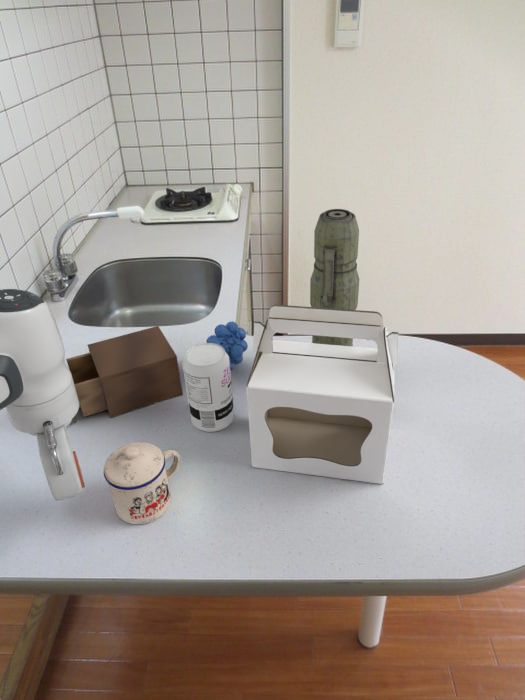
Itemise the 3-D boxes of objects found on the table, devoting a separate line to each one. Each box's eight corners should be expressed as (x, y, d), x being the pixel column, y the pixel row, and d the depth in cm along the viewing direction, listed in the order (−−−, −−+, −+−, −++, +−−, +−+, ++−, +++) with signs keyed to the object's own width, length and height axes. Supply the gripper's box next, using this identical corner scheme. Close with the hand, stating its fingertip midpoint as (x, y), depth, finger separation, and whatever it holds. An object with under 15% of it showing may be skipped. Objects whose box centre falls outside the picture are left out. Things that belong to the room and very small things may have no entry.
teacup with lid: (133, 537, 78) (118, 484, 71) (104, 502, 84) (88, 449, 77) (198, 493, 84) (190, 441, 78) (167, 463, 90) (157, 412, 84)
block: (57, 496, 77) (50, 477, 74) (53, 478, 80) (47, 459, 77) (85, 487, 78) (79, 468, 76) (80, 469, 81) (74, 450, 79)
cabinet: (110, 418, 101) (100, 378, 95) (97, 382, 110) (87, 344, 105) (183, 394, 106) (176, 355, 100) (164, 362, 115) (158, 325, 110)
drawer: (43, 433, 96) (31, 400, 92) (37, 398, 105) (25, 366, 101) (141, 402, 103) (134, 370, 98) (127, 371, 111) (120, 341, 107)
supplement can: (187, 410, 101) (177, 346, 93) (228, 401, 103) (222, 337, 95) (195, 438, 95) (185, 372, 86) (239, 428, 97) (234, 361, 88)
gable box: (250, 467, 89) (239, 326, 73) (266, 416, 99) (259, 283, 83) (384, 485, 84) (404, 339, 68) (386, 429, 95) (403, 292, 79)
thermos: (355, 364, 112) (366, 202, 92) (349, 399, 102) (361, 227, 83) (313, 360, 114) (316, 200, 94) (304, 394, 104) (305, 225, 84)
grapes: (224, 392, 106) (219, 342, 99) (201, 379, 109) (194, 331, 103) (262, 364, 113) (259, 316, 106) (238, 354, 117) (235, 307, 110)
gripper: (80, 443, 63) (102, 518, 71) (56, 358, 79) (76, 426, 87) (25, 460, 61) (53, 535, 69) (12, 369, 77) (36, 438, 84)
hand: (66, 474), depth 78 cm, fingers closed on block, 4 cm apart
